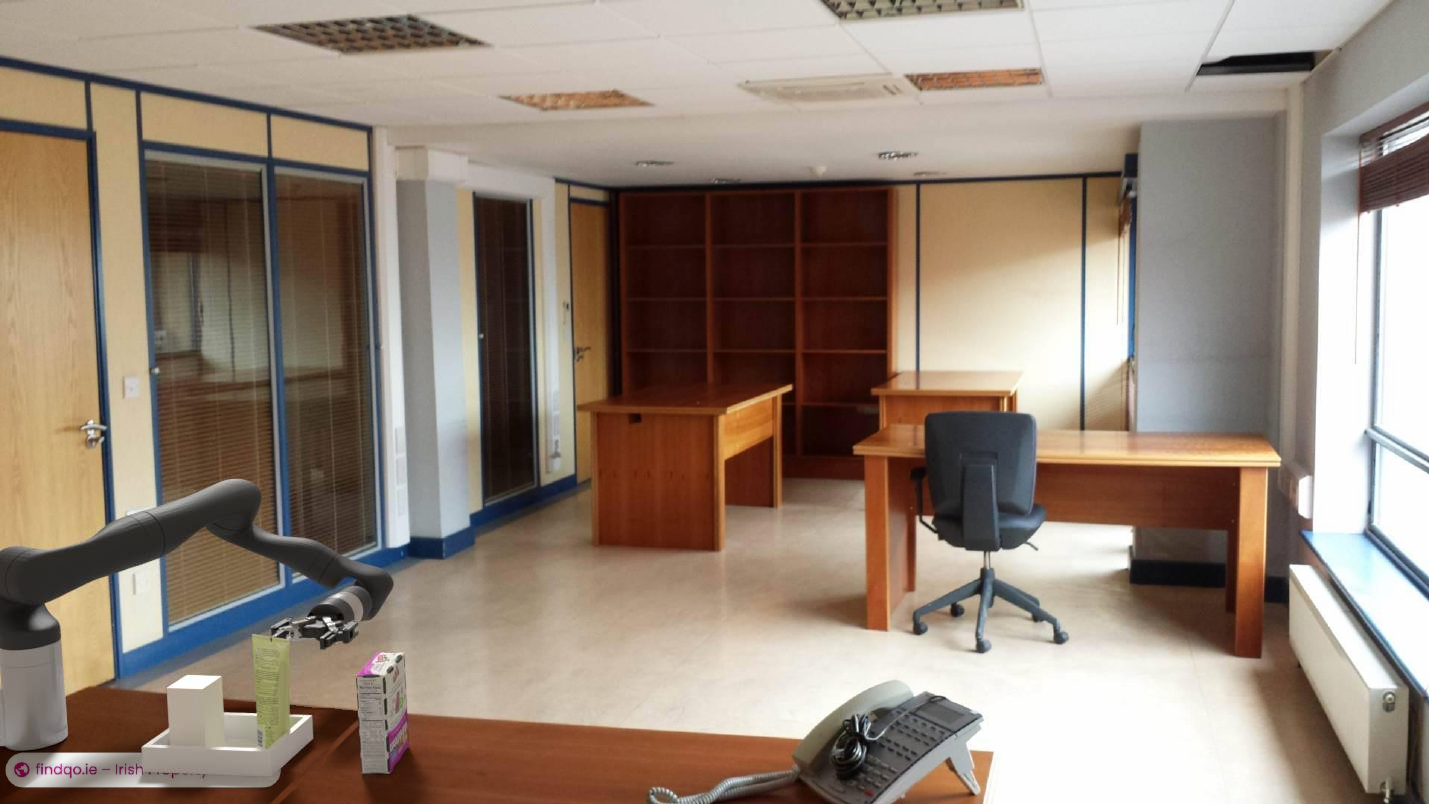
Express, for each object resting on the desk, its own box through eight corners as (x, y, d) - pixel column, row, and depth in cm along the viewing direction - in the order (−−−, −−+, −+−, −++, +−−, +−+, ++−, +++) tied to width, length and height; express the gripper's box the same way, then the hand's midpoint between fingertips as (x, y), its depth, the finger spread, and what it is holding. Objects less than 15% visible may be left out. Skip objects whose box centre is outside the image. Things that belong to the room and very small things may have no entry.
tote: (143, 777, 185) (141, 747, 185) (194, 739, 200) (192, 711, 200) (271, 782, 184) (270, 751, 183) (313, 743, 198) (312, 715, 198)
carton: (170, 760, 190) (166, 687, 188) (190, 745, 196) (186, 675, 194) (206, 761, 189) (202, 688, 188) (225, 746, 195) (221, 676, 194)
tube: (294, 744, 196) (288, 629, 193) (295, 756, 191) (289, 638, 189) (257, 749, 194) (251, 633, 191) (257, 761, 189) (251, 643, 187)
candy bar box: (380, 746, 197) (376, 651, 195) (409, 746, 197) (406, 651, 195) (358, 775, 186) (354, 674, 184) (390, 775, 186) (386, 674, 184)
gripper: (373, 637, 219) (338, 666, 203) (299, 635, 221) (258, 663, 205) (372, 598, 219) (337, 623, 203) (298, 595, 220) (257, 620, 204)
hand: (297, 643), depth 204 cm, fingers open, 8 cm apart
